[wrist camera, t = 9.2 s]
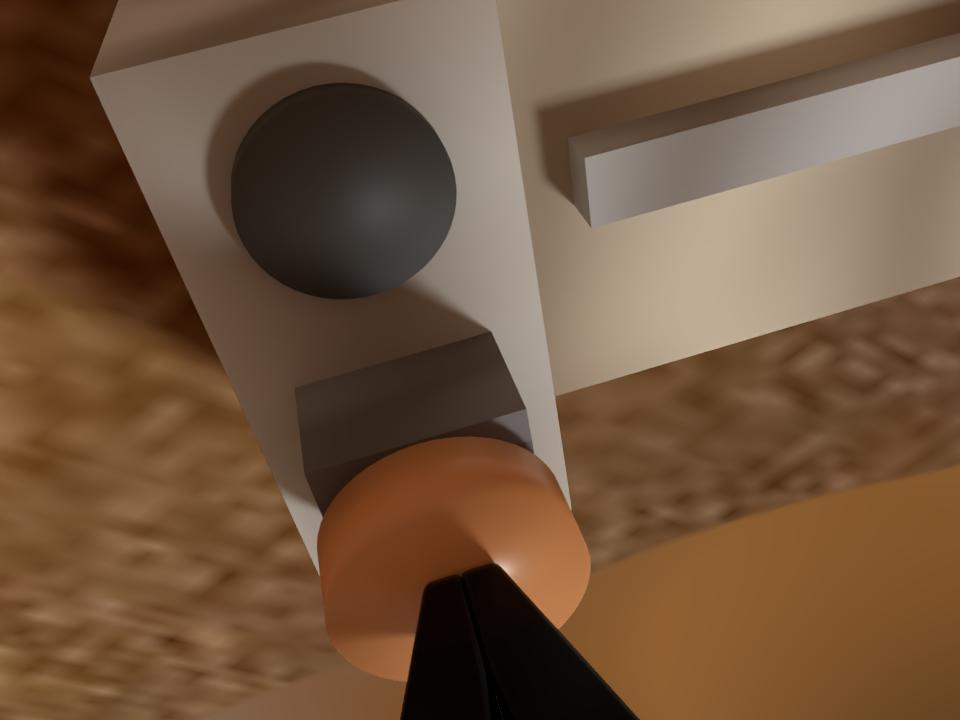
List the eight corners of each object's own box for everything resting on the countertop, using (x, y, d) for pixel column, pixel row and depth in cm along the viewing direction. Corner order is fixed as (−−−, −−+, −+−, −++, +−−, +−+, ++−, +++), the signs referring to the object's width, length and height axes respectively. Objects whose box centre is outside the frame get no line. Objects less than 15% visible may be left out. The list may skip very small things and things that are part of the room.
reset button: (504, 317, 11) (578, 466, 9) (534, 478, 13) (600, 634, 10) (274, 383, 11) (288, 554, 8) (339, 537, 12) (365, 710, 10)
